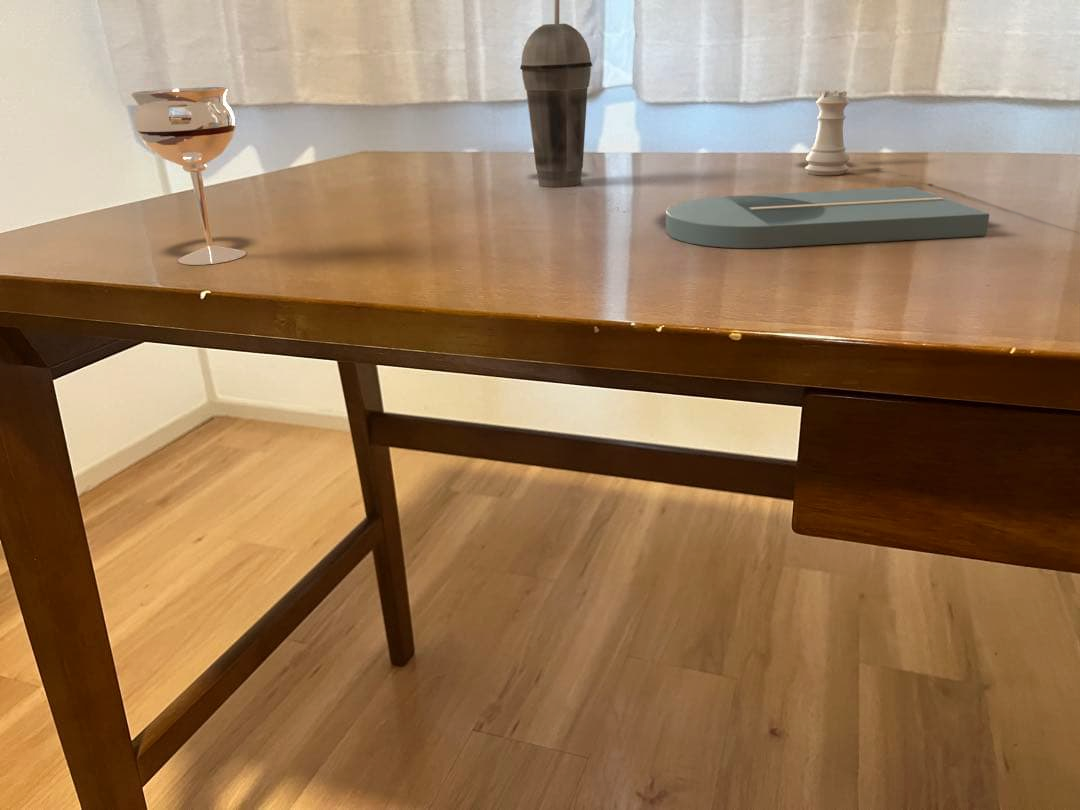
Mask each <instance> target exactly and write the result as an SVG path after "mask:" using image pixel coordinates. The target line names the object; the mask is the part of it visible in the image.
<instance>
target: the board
mask: <svg viewBox="0 0 1080 810" xmlns="http://www.w3.org/2000/svg"><path fill="white" fill-rule="evenodd" d="M989 220H990V213H988V212H985V211H983V210H979V209H977V208H974V207H971V206H968V205H965V204H963V203H959V202H957V201H954V200H951V199H948V198H945V197H942V196H940V195H936V194H934V193H931V192H928V191H926V190H922V189H920V188H917V187H914V186H897V187H879V188H862V189H861V188H858V189H844V190H843V189H842V190H841V189H840V190H827V191H826V190H824V191H804V192H785V193H783V192H782V193H767V194H766V193H765V194H749V195H748V194H747V195H728V196H714V197H712V196H711V197H704V198H697V199H691V200H685V201H681V202H678V203H675V204H672V205H671V206H669V207H668V208H667V209H666V210H665V233H666V234H667V236H668V237H670V238H672V239H674V240H677V241H680V242H683V243H687V244H692V245H697V246H703V247H710V248H722V249H725V248H726V249H774V248H788V247H789V248H790V247H793V248H795V247H810V246H811V247H812V246H824V245H825V246H827V245H828V246H829V245H843V244H844V245H845V244H862V243H879V242H881V243H882V242H898V241H899V242H901V241H918V240H919V241H920V240H934V239H935V240H936V239H937V240H938V239H952V238H970V237H973V238H974V237H986V236H987V231H988V226H989Z"/></svg>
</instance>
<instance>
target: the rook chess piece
mask: <svg viewBox="0 0 1080 810" xmlns="http://www.w3.org/2000/svg"><path fill="white" fill-rule="evenodd" d="M847 93H848V91H845V90H841V91H840V92H839V90H833V91H832V92H830V91H829V90H827V91H820V93H819V94H820V95H819V98H818V99H817V100H816V101H815V103H816V105H817V107H818V109H819V114H818V115H817V117H816V119H817V120H818V125H817V130H816V135H815V140H814V143H813V145H812V147H811V149H810V150H811V151H810V152H809V153H808V154H807V155H806V158H805V160H806V161H807V163H808V164H807V165H806V166H805V167H804V169H805V171H806V173H807V174H809V175H812V176H813V175H814V176H841V175H844V174H846V173H847V172H848V170H849V169H850V167H849V166H848V165H847V163H848V162H849V161H850V155H849V154H848V153H847V151H846V149H847V147H845V142H844V120H845V119H846V118H847V117H846V114H845V109H846V107H847V106H848V105H849V103H850V100H849V98H848V97H847Z"/></svg>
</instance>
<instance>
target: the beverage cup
mask: <svg viewBox="0 0 1080 810" xmlns="http://www.w3.org/2000/svg"><path fill="white" fill-rule="evenodd" d="M553 1H554V2H553V3H554V5H553V6H554V10H553V11H554V13H553V19H554V20H553V21H554V22H553V23H548V24H547V23H546V24H542V25H540V26H538V27H537V28H536V29H535V30H534V31H533V32H532V33H531V34H530V35H529V37H528V38H527V39H526V42H525V44H524V46H523V50H522V54H521V63H520V67H519V70H521V75H522V81H523V86H524V90H526V91H525V92H526V99H527V105H528V106H527V107H528V114H529V122H530V130H531V139H532V148H533V154H534V163H535V169H536V173H537V179H538V186H540V187H548V188H564V187H573V186H577V185H581V184H582V176H583V175H582V174H583V166H584V154H585V153H584V152H585V136H586V119H587V103H588V88H589V87H590V80H591V75H592V74H591V73H592V72H591V71H592V67H593V63H592V60H591V53H590V48H589V46H588V44H587V41H586V40H585V38H584V36H583V35H582V34H581V32H579V31H578V30H577V28H575V27H573V25H571V24H567V23H560V0H553Z"/></svg>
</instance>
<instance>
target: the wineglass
mask: <svg viewBox="0 0 1080 810" xmlns="http://www.w3.org/2000/svg"><path fill="white" fill-rule="evenodd" d="M228 90H229V87H228V86H205V87H204V86H203V87H201V86H200V87H183V88H168V89H166V88H165V89H153V90H151V89H150V90H142V91H141V90H140V91H132V92H129V93H128V94H129V96H130V97H131V99H132V100H133V101H134V102H135V104H136V105H137V106H136V107H137V108H136V110H135V112H134V127H135V128H136V131H137V133H138V134H137V135H138V136H139V137H140V139H141V140H142V142H143V144H144V145H145V147H147V148H149V149H150V150H151V151H153V152H154V153H155V154H156V155H158V156H159V157H160V158H162V159H163V160H166V161H169V162H171V163H174V164H177V165H179V166H182V170H183V171H184V172H186V173H189V174H190V178H191V182H192V186H193V190H194V195H195V199H196V204H197V208H198V212H199V216H200V220H201V224H202V229H203V233H204V237H205V241H206V246H204V247H202V248H199V249H197V250H195V251H192V252H190V253H187V254H185V255H182V256H181V257H180V258H178V260H177V262H178V263H179V264H183V265H187V266H189V265H192V266H204V265H215V264H220V263H221V264H222V263H226V262H231V261H235V260H238V259H240V258H243V257H244V256H246V254H247V252H246V251H245V250H242V249H237V248H233V247H225V246H219V245H214V244H213V237H212V233H211V232H212V231H211V224H210V219H209V218H210V217H209V211H208V206H207V205H208V204H207V199H206V191H205V186H204V179H203V173H202V172H203V171H206V169H207V167H208V165H207V164H209V163H210V162H212V161H213V160H214V159H216V158H217V157H219V156H220V155H222V154H223V153H224V151H225V150H226V148H227V147H228V145H229V144H230V143H231V142H232V140H233V139H234V135H235V134H234V133H235V130H236V126H237V125H236V124H237V122H236V118H235V117H236V116H235V113H234V111H233V108H232V107H231V105H230V104H229V103H228V102H227V100H226V98H227V93H228Z"/></svg>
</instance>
